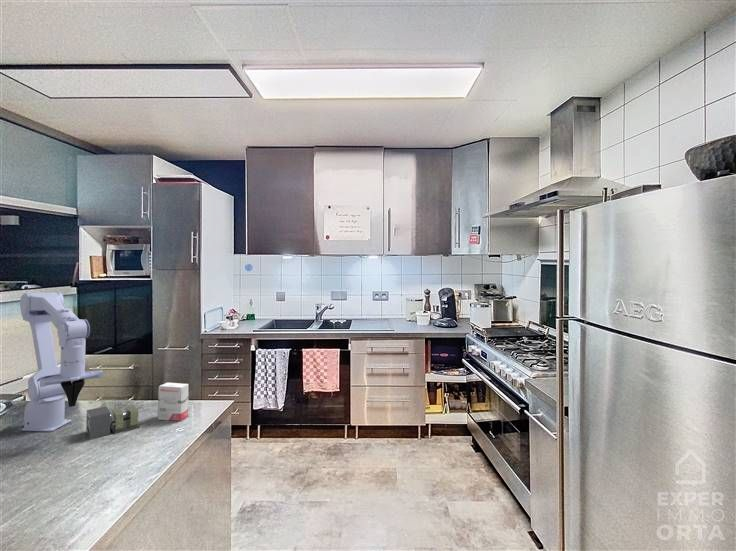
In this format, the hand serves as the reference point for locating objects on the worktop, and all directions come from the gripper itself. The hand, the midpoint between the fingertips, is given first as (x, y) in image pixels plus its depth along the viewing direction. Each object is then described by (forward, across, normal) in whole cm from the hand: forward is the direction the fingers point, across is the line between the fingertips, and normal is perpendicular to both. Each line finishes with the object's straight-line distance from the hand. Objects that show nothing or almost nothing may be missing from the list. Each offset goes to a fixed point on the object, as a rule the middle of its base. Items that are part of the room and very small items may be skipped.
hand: (71, 405), depth 108 cm
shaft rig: (+10, +11, 0) cm, 15 cm away
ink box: (+11, +27, -3) cm, 30 cm away
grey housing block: (+10, +7, 0) cm, 12 cm away
